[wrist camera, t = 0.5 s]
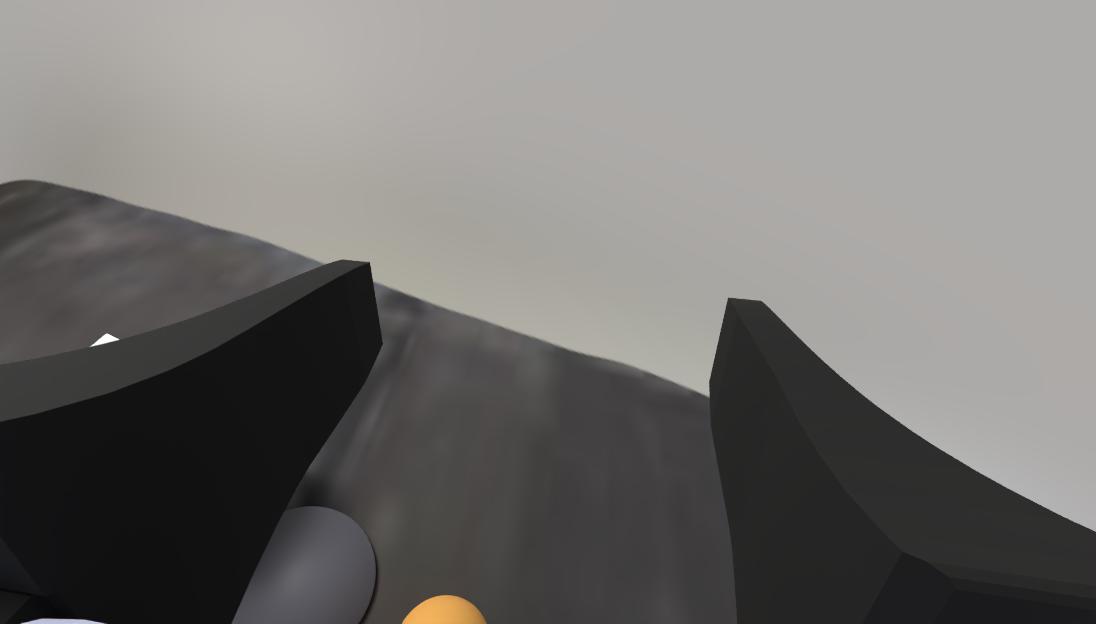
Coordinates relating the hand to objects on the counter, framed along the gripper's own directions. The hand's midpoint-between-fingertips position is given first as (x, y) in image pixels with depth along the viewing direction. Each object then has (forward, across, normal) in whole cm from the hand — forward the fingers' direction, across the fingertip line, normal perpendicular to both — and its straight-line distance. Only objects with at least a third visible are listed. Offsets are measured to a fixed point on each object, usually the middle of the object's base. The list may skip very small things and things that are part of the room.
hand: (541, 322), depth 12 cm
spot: (+4, +12, +18) cm, 22 cm away
